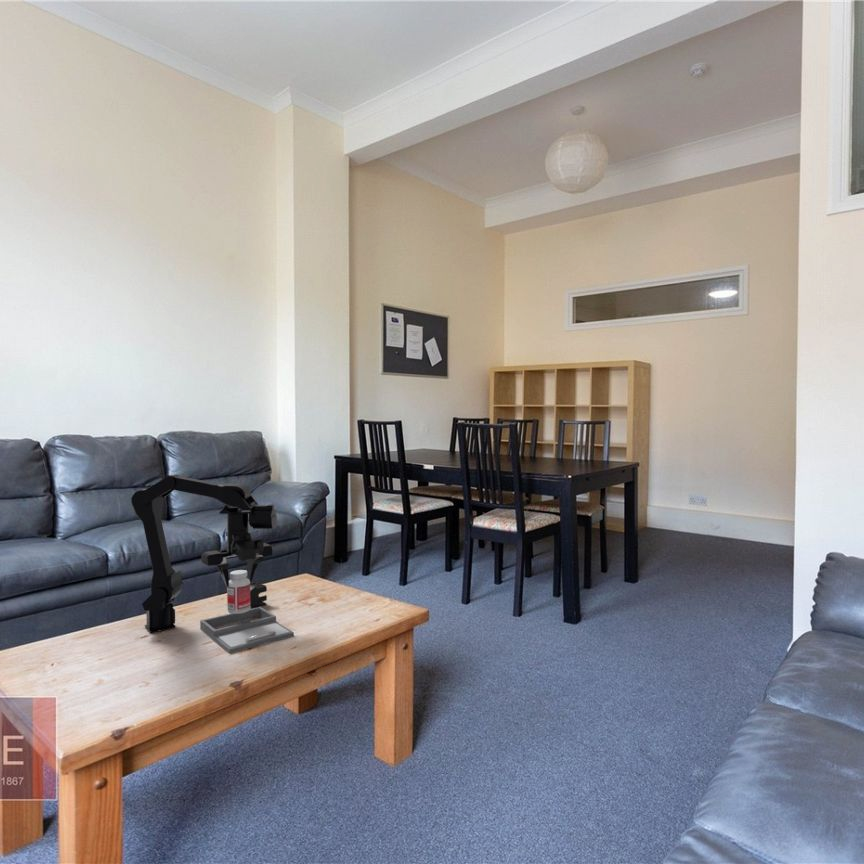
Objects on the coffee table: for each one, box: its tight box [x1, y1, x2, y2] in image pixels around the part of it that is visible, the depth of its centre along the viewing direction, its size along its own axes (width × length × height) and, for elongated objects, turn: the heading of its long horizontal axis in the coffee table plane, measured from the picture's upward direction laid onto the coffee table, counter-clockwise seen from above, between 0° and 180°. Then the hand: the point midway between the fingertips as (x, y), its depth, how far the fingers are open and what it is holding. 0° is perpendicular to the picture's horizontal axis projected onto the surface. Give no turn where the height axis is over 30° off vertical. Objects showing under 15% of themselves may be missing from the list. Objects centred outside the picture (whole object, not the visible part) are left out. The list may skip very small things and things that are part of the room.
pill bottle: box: [226, 569, 251, 614], centre depth 159 cm, size 6×6×11 cm
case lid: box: [213, 620, 295, 654], centre depth 151 cm, size 18×11×1 cm, turn 131°
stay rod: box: [245, 631, 276, 642], centre depth 148 cm, size 8×1×1 cm, turn 131°
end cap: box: [250, 580, 268, 609], centre depth 179 cm, size 10×7×7 cm
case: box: [199, 606, 277, 641], centre depth 160 cm, size 18×11×3 cm, turn 131°
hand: (238, 584), depth 159 cm, fingers closed on pill bottle, 6 cm apart
